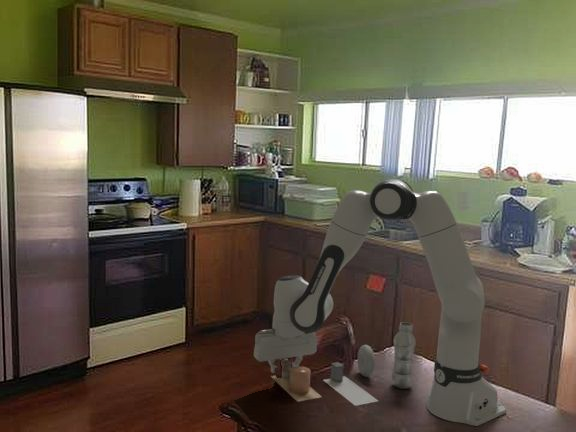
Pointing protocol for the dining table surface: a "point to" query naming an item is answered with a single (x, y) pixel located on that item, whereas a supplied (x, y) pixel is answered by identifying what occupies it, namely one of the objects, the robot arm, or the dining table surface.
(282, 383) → the oak strip
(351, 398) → the grey strip
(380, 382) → the dining table surface
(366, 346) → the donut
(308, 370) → the terracotta cylinder
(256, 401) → the dining table surface
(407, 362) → the plastic bottle
